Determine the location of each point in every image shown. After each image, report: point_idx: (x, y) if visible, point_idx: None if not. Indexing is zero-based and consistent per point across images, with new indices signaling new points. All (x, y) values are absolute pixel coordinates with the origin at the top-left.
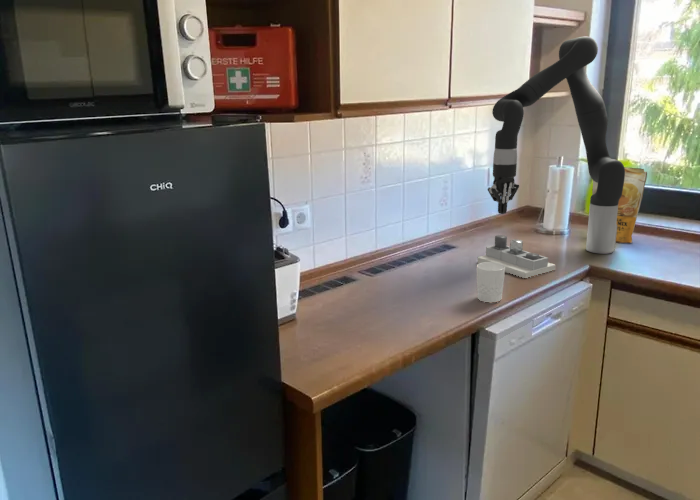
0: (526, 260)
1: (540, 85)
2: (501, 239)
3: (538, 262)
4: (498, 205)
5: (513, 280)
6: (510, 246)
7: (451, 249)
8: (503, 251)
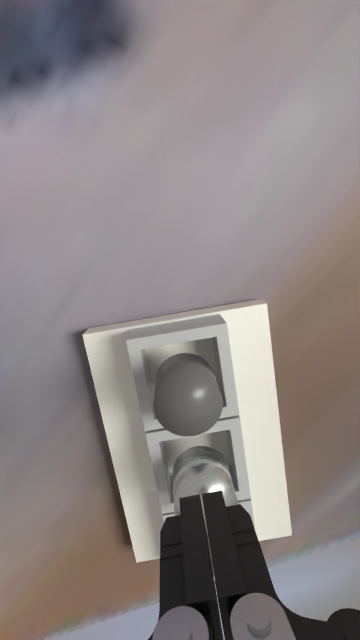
0: None
1: None
2: (170, 427)
3: None
4: (162, 591)
5: (93, 539)
6: (174, 479)
7: (86, 74)
8: (156, 435)
